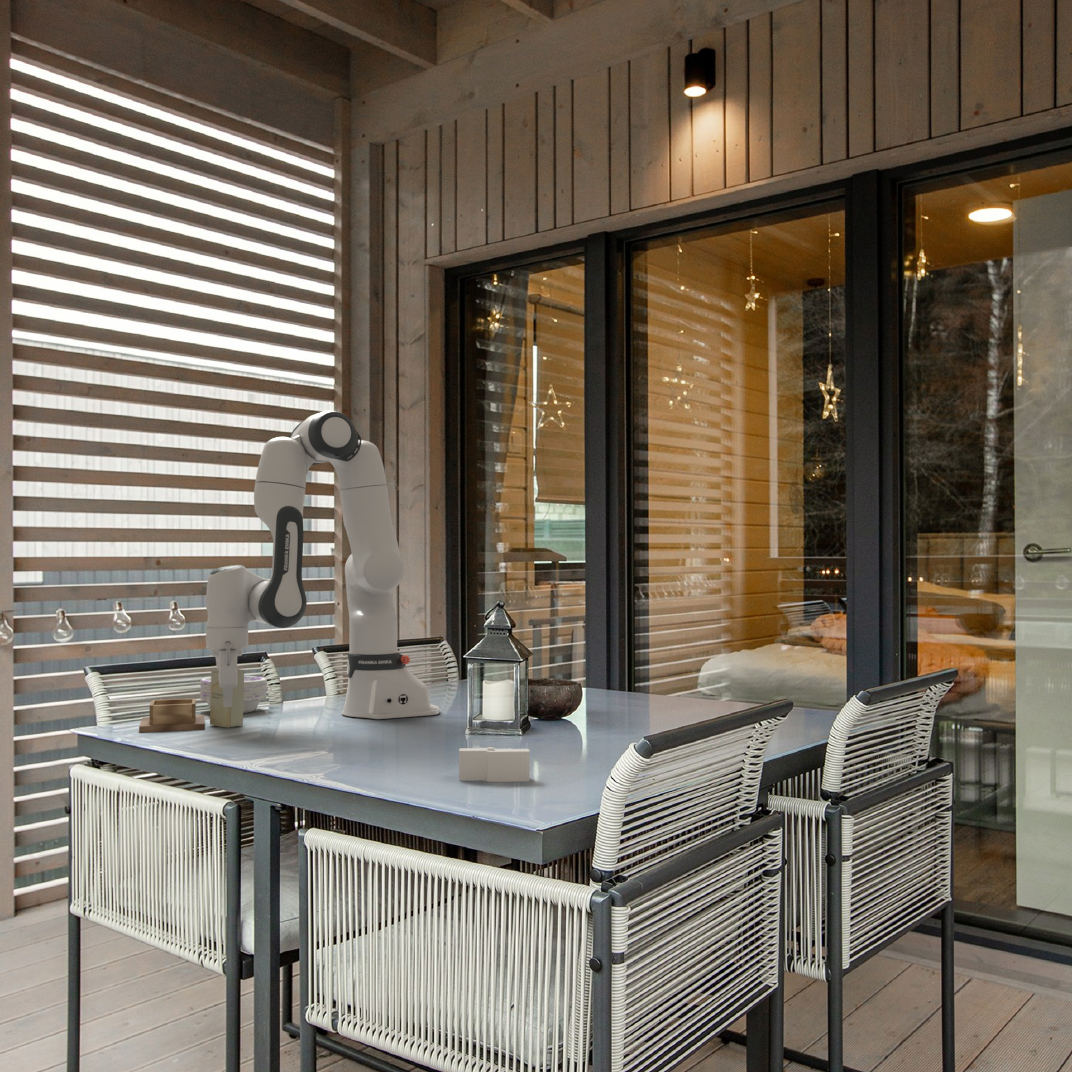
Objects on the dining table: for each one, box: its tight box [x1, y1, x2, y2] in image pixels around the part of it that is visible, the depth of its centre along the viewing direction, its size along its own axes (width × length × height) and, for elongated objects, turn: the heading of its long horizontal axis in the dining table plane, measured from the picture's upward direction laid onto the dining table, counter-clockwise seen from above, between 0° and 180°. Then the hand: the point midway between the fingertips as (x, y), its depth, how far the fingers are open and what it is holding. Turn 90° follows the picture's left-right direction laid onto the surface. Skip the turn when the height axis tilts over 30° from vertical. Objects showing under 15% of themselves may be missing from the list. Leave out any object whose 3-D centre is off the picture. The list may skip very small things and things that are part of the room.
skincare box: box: [209, 668, 245, 729], centre depth 229 cm, size 6×4×12 cm
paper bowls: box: [199, 675, 268, 714], centre depth 251 cm, size 15×15×8 cm
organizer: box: [138, 698, 206, 733], centre depth 228 cm, size 13×13×5 cm
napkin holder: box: [458, 746, 530, 783], centre depth 175 cm, size 15×11×6 cm
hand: (227, 704), depth 229 cm, fingers closed on skincare box, 7 cm apart
